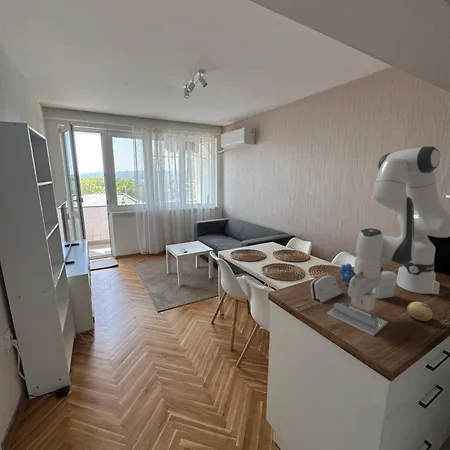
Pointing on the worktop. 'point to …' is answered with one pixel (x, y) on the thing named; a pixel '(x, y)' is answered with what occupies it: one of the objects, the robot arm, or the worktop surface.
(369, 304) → the block
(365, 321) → the rail base
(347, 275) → the grapes
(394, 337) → the worktop surface
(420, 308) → the onion
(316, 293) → the white toaster
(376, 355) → the worktop surface
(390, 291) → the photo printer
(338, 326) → the worktop surface
